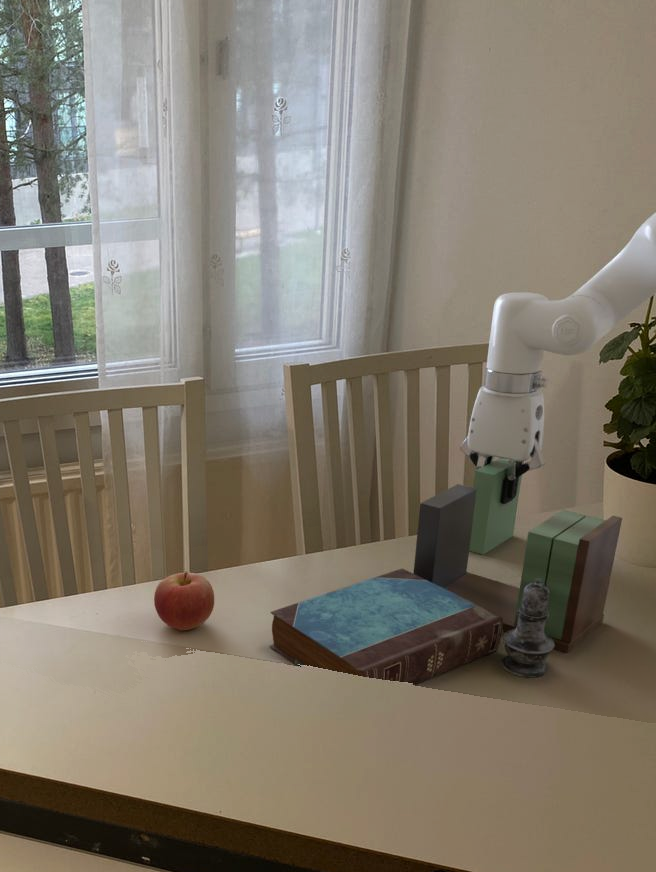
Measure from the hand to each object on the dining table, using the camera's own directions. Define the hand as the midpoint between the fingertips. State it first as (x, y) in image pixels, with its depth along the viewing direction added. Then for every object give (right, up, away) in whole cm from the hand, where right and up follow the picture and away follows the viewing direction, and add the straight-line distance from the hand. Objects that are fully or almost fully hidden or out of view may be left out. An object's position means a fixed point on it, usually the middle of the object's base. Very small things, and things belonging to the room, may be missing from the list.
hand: (495, 497), depth 141 cm
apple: (-48, -19, -19) cm, 55 cm away
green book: (0, -7, +3) cm, 8 cm away
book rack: (-6, -17, -17) cm, 24 cm away
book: (-24, -22, -26) cm, 41 cm away
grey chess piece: (-7, -23, -31) cm, 39 cm away
